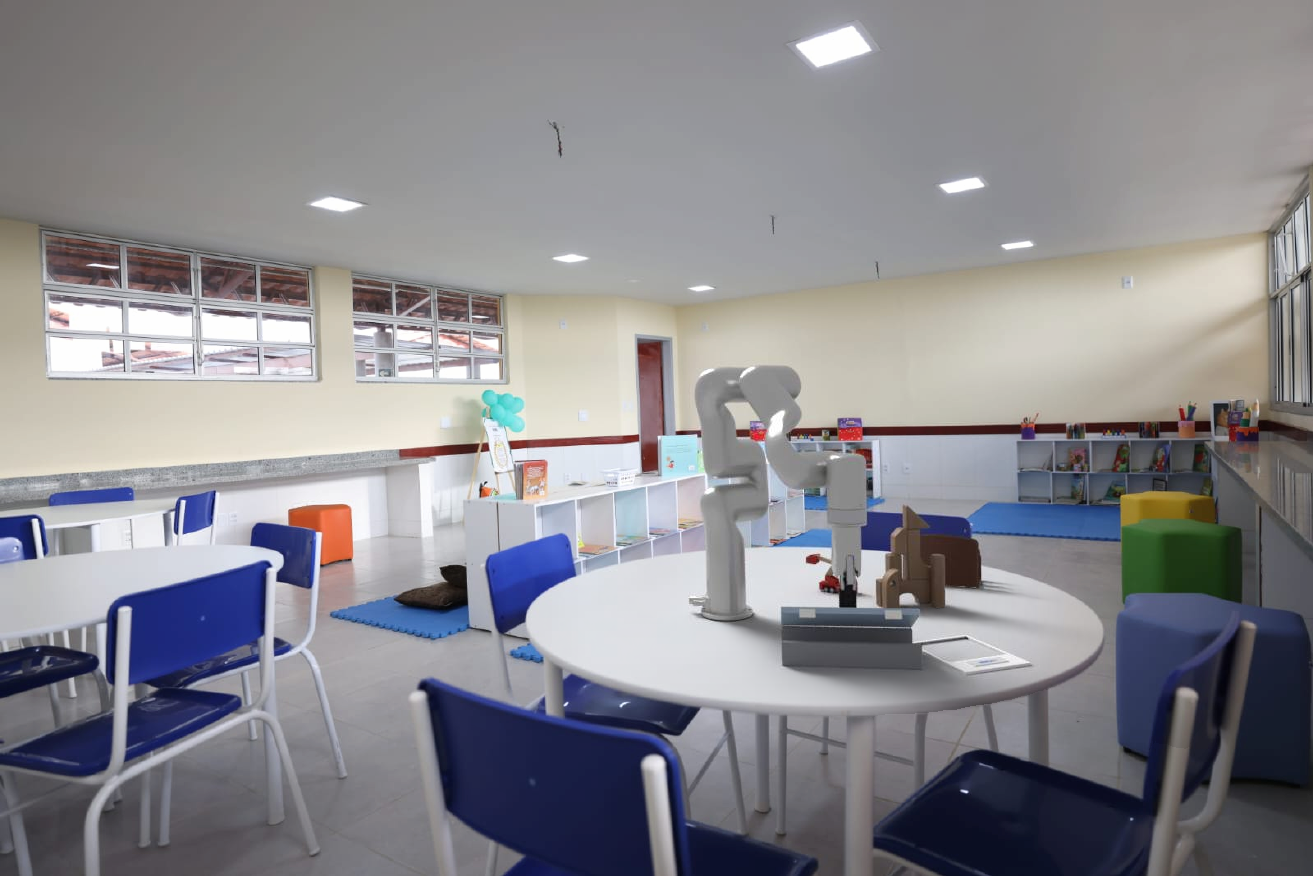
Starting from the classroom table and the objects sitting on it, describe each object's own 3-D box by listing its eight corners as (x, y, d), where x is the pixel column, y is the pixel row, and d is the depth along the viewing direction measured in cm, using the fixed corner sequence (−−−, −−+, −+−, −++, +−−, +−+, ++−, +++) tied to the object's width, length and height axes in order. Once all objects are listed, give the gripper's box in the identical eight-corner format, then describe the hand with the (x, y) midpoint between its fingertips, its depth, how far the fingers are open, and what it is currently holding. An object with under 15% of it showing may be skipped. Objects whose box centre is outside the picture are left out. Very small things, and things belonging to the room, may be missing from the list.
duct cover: (781, 616, 141) (780, 605, 142) (781, 630, 151) (781, 619, 152) (921, 619, 137) (920, 607, 138) (911, 632, 147) (910, 621, 148)
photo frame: (965, 671, 134) (906, 642, 151) (965, 677, 134) (906, 647, 151) (1030, 661, 138) (965, 634, 155) (1030, 667, 138) (966, 639, 155)
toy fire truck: (855, 595, 192) (854, 559, 192) (806, 589, 199) (805, 554, 199) (859, 592, 195) (858, 556, 194) (810, 587, 202) (809, 552, 202)
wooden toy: (886, 611, 176) (884, 508, 176) (875, 604, 183) (874, 505, 182) (947, 608, 178) (946, 506, 177) (935, 601, 184) (933, 502, 183)
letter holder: (979, 589, 196) (978, 536, 195) (902, 582, 205) (901, 533, 204) (981, 580, 204) (981, 531, 204) (908, 575, 214) (907, 527, 213)
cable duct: (782, 665, 141) (781, 642, 141) (781, 647, 152) (781, 625, 152) (922, 669, 137) (922, 645, 137) (911, 650, 148) (911, 628, 148)
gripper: (824, 511, 150) (825, 598, 151) (830, 522, 136) (831, 620, 136) (861, 511, 149) (862, 599, 150) (872, 523, 134) (873, 621, 135)
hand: (847, 609), depth 143 cm, fingers closed
